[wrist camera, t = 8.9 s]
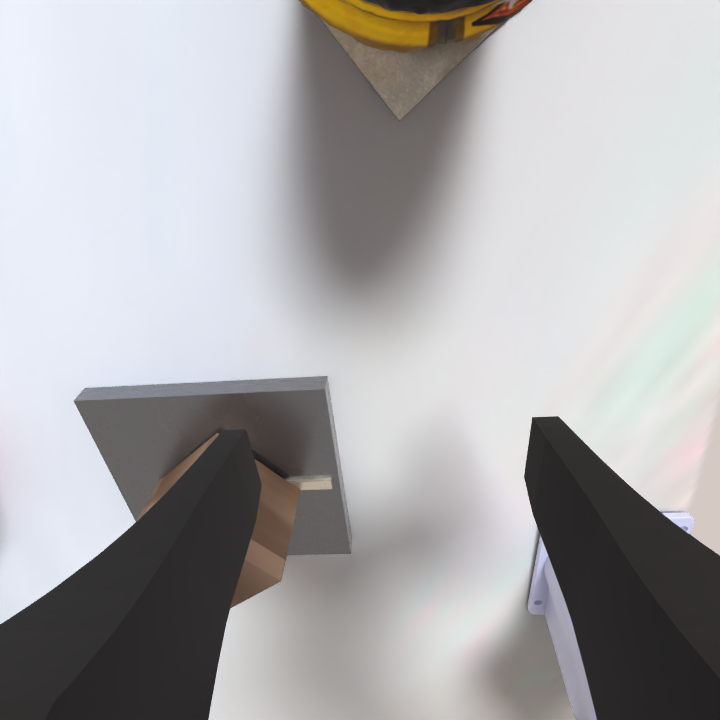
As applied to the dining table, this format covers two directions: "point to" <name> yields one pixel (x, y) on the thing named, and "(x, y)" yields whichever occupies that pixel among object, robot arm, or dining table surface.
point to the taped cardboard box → (269, 528)
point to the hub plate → (213, 415)
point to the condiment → (410, 39)
